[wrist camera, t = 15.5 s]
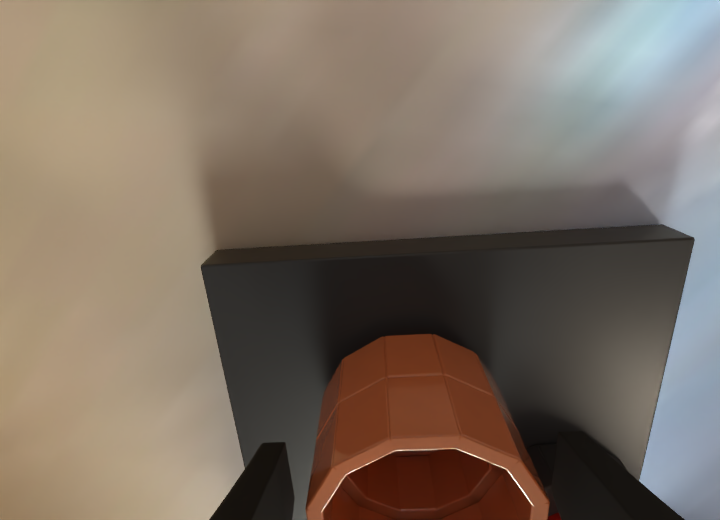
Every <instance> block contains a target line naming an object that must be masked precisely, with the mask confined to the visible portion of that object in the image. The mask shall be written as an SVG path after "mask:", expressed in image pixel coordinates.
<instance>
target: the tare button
mask: <svg viewBox="0 0 720 520" xmlns="http://www.w3.org/2000/svg"><path fill="white" fill-rule="evenodd" d="M548 520H561V517H560V515H559V512H558V513H556V514H553V515H551V516H548Z"/></svg>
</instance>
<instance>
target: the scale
mask: <svg viewBox="0 0 720 520" xmlns="http://www.w3.org/2000/svg"><path fill="white" fill-rule="evenodd" d="M693 245H694V238H693V237H691V236H689V235H686V234H684V233H682V232H679V231H677V230H675V229H672V228H670V227H667V226H665V225H663V224H661V225H643V226H626V227H609V228H592V229H574V230H557V231H540V232H522V233H505V234H488V235H471V236H453V237H436V238H419V239H401V240H384V241H367V242H350V243H332V244H315V245H298V246H281V247H263V248H246V249H229V250H217V251H215V252H214V253H213V254H212V255H211V256H210V257H209V258H208V259H207V260H206V261H205V262H204V263H203V264H202V265H201V270H202V275H203V279H204V284H205V289H206V293H207V298H208V302H209V307H210V311H211V316H212V320H213V325H214V330H215V334H216V339H217V343H218V348H219V352H220V357H221V361H222V366H223V370H224V375H225V380H226V384H227V389H228V393H229V398H230V402H231V407H232V411H233V416H234V420H235V425H236V430H237V434H238V439H239V443H240V448H241V452H242V457H243V461H244V466H245V468H246V467H247V465H248V464H249V462H250V460H251V459H252V457H253V456H254V454H255V453H256V451H257V450H258V448H259V446H260V445H261V444H262V443H269V442H285V443H286V449H287V454H288V460H289V466H290V472H291V478H292V484H293V490H294V496H295V501H294V509H293V518H292V520H307V517H306V511H305V508H306V502H307V495H308V489H309V483H310V476H311V470H312V463H313V457H314V450H315V444H316V438H317V431H318V425H319V418H320V412H321V405H322V399H323V394H324V391H325V389H326V387H327V386H328V384H329V382H330V380H331V378H332V377H333V375H334V373H335V371H336V370H337V368H338V366H339V364H340V362H341V361H342V359H344V358H345V357H346V356H348V355H350V354H352V353H353V352H355V351H357V350H359V349H360V348H362V347H364V346H366V345H368V344H369V343H371V342H373V341H375V340H376V339H378V338H380V337H382V336H383V337H385V336H390V335H411V334H432V335H433V334H435V335H438V336H440V337H442V338H444V339H447V340H449V341H451V342H453V343H455V344H458V345H460V346H462V347H464V348H467V349H469V350H471V351H473V352H474V353H476V354H477V355H478V357H479V358H480V360H481V361H482V363H483V364H484V366H485V367H486V368H487V370H488V371H489V373H490V374H491V376H492V377H493V379H494V380H495V382H496V383H497V385H498V387H499V389H500V392H501V394H502V396H503V398H504V401H505V403H506V405H507V407H508V409H509V412H510V414H511V416H512V418H513V421H514V423H515V425H516V427H517V429H518V432H519V434H520V436H521V438H522V440H523V442H524V445H525V447H526V449H527V451H528V453H529V456H530V458H531V460H532V462H533V465H534V467H535V469H536V471H537V473H538V476H539V478H540V480H541V482H542V484H543V487H544V489H545V491H546V493H547V496H548V498H549V501H550V505H549V513H548V516H551V515H553V514H556V513H558V509H557V506H556V503H555V500H554V497H553V494H552V491H551V486H552V478H553V470H554V462H555V455H556V447H557V439H558V432H566V431H583V432H584V433H585V434H586V435H588V436H589V437H590V438H591V439H592V440H593V441H594V442H595V443H597V444H598V445H599V446H600V447H601V448H602V449H603V450H604V451H605V452H607V453H608V454H609V455H610V456H611V457H612V458H613V459H614V460H615V461H617V462H618V463H619V464H620V465H621V466H622V467H623V468H624V469H626V470H627V471H628V472H629V473H630V474H631V475H632V476H633V477H635V478H636V479H637V480H638V481H639V479H640V475H641V470H642V466H643V462H644V457H645V453H646V449H647V444H648V440H649V436H650V431H651V427H652V423H653V418H654V414H655V410H656V405H657V401H658V397H659V392H660V388H661V384H662V379H663V375H664V371H665V366H666V362H667V358H668V353H669V349H670V345H671V340H672V336H673V331H674V327H675V323H676V318H677V314H678V310H679V305H680V301H681V297H682V292H683V288H684V284H685V279H686V275H687V271H688V266H689V262H690V258H691V253H692V249H693Z"/></svg>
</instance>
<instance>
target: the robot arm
mask: <svg viewBox="0 0 720 520" xmlns="http://www.w3.org/2000/svg"><path fill="white" fill-rule="evenodd" d="M551 491H552V494H553V497H554V500H555V503H556V506H557V509H558V512H559V515H560V517H561V520H684V519H683V518H682V517H681V516H680V515H678V514H677V513H676V512H675V511H673V510H672V509H671V508H670V507H669V506H667V505H666V504H665V503H664V502H663V501H661V500H660V499H659V498H658V497H657V496H656V495H654V494H653V493H652V492H651V491H650V490H648V489H647V488H646V487H645V486H644V485H643V484H641V483H640V482H639V481H638V480H637V479H636V478H635V477H633V476H632V475H631V474H630V473H629V472H628V471H627V470H626V469H624V468H623V467H622V466H621V465H620V464H619V463H618V462H617V461H615V460H614V459H613V458H612V457H611V456H610V455H609V454H608V453H607V452H605V451H604V450H603V449H602V448H601V447H600V446H599V445H598V444H597V443H595V442H594V441H593V440H592V439H591V438H590V437H589V436H588V435H586V434H585V433H584V432H583V431H566V432H558V439H557V447H556V455H555V462H554V470H553V478H552V486H551ZM294 501H295V496H294V490H293V484H292V478H291V472H290V466H289V460H288V454H287V449H286V443H285V442H269V443H262V444H261V445H260V446H259V448H258V450H257V451H256V453H255V454H254V456H253V457H252V459H251V460H250V462H249V464H248V465H247V467H246V468H245V470H244V471H243V473H242V474H241V476H240V477H239V479H238V480H237V482H236V483H235V485H234V486H233V487H232V489H231V490H230V492H229V493H228V495H227V496H226V497H225V499H224V500H223V502H222V503H221V504H220V506H219V507H218V509H217V510H216V511H215V513H214V514H213V515H212V517H211V518H210V519H209V520H292V518H293V509H294Z"/></svg>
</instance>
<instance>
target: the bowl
mask: <svg viewBox="0 0 720 520" xmlns="http://www.w3.org/2000/svg"><path fill="white" fill-rule="evenodd" d="M549 505H550V501H549V498H548V496H547V493H546V491H545V489H544V487H543V484H542V482H541V480H540V478H539V476H538V473H537V471H536V469H535V467H534V465H533V462H532V460H531V458H530V456H529V453H528V451H527V449H526V447H525V445H524V442H523V440H522V438H521V436H520V434H519V432H518V429H517V427H516V425H515V423H514V421H513V418H512V416H511V414H510V412H509V409H508V407H507V405H506V403H505V401H504V398H503V396H502V394H501V392H500V389H499V387H498V385H497V383H496V382H495V380H494V379H493V377H492V376H491V374H490V373H489V371H488V370H487V368H486V367H485V366H484V364H483V363H482V361H481V360H480V358H479V357H478V355H477V354H476V353H474V352H473V351H471V350H469V349H467V348H464V347H462V346H460V345H458V344H455V343H453V342H451V341H449V340H447V339H444V338H442V337H440V336H438V335H435V334H433V335H432V334H411V335H390V336H385V337H383V336H382V337H380V338H378V339H376V340H375V341H373V342H371V343H369V344H368V345H366V346H364V347H362V348H360V349H359V350H357V351H355V352H353V353H352V354H350V355H348V356H346V357H345V358H344V359H342V361H341V362H340V364H339V366H338V368H337V370H336V371H335V373H334V375H333V377H332V378H331V380H330V382H329V384H328V386H327V387H326V389H325V391H324V394H323V399H322V405H321V412H320V418H319V425H318V431H317V438H316V444H315V450H314V457H313V463H312V470H311V476H310V483H309V489H308V495H307V502H306V508H305V511H306V517H307V520H548V513H549Z"/></svg>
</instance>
